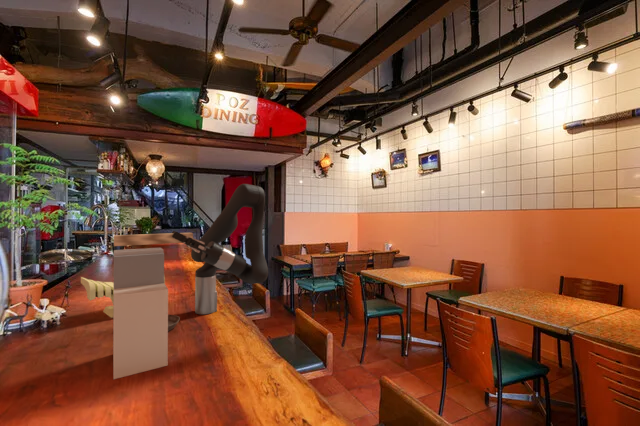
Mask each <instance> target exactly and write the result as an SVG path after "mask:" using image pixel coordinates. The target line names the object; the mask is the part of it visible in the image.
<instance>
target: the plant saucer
mask: <svg viewBox="0 0 640 426" xmlns="http://www.w3.org/2000/svg"><path fill="white" fill-rule="evenodd" d="M180 318H181V317H180V316H178V315H175V314H168V332H169V331H171V330H173V329H174V328H175V327H176V326H177V325H178V323H179V321H180V320H181V319H180Z"/></svg>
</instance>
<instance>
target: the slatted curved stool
mask: <svg viewBox="0 0 640 426" xmlns="http://www.w3.org/2000/svg"><path fill="white" fill-rule="evenodd" d="M165 276H166V275H164V284H165V285H166V277H165ZM80 284H81V285H82V286H83V287H84V289H85V290H86V291H85V292H86V298H87V300H88V301H92V300H93V301H94V300H95V299H96V298H98V299H99V298H104V297H105V298H109V299H110V300H111V302H112V305H109V306H105V308H103V311H102V312H103V313H104V314H106V315H107V316H108V317H109V318H110V319H113V309H114V281H101V280H100V281H99V280H93V279H90V278H89V279H88V278H86V277H83V276H80Z"/></svg>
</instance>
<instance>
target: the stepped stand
mask: <svg viewBox="0 0 640 426" xmlns="http://www.w3.org/2000/svg"><path fill="white" fill-rule="evenodd" d="M164 276H165V253H164V249H163V248H162V247H149V248H135V249H134V248H132V249H131V248H130V249H114V250H113V283H114V309H113V318H112V319H113V320H112V321H113V323H112V324H113V331H112V332H113V336H112V337H113V338H112V339H113V340H112V341H113V342H112V345H113V346H112V348H113V350H112V351H113V352H112V354H113V356H112V357H113V360H112V361H113V365H112V368H113V380H116V379H117V380H118V379H120V378H123V377H124V378H125V377H129V376H132V375H136V374H140V373H143V372H144V373H145V372H147V371H151V370H155V369H160V368H163V367H166V366H169V365H168V364H169V363H168V361H169V360H168V359H169V358H168V357H169V356H168V355H169V354H168V353H169V351H168V350H169V349H168V348H169V347H168V346H169V342H168V341H169V331H168V315H169V288H168V286H167V285H166V283H165V284H164Z"/></svg>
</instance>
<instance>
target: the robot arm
mask: <svg viewBox="0 0 640 426" xmlns="http://www.w3.org/2000/svg"><path fill="white" fill-rule="evenodd" d="M265 203H266V194H265V190H264V189H263V187H261V186H259V185H253V184H249V183H242V184H240V185H238V186H237V188H236V189H235V190H234V192H233V193H232V195H231V197H230V199H229V201H228V202H227V204H226V205H225V207H224V208H223V210H222V211H221V212H220V213H219V215H218V216H217V217H216V218H215V220H214V221H213V223H212V224H211V226H210V227H209V228H208V229H207V231H206V232H205V233H204V234H203V235H202V236H201V238H199V239H197V238H194V237H193V239H192V238H189V237H187V236H184V235H182V234H180V233H181V232H178V231H176V230H173V231H171V233H174V234H173V235H172V237H173V238H175V239H177V240H179V241H181V242H183V241H184V242H183V243H182V244H183V245H185V246H186V247H187V248H189V249H191V251H190V255H191V256H190V257H191V259H192V260H193V262H196V263H204V264H203V265H201V267H199V268H196V269H195V276H194V277H195V279H194V281H195V283H194V285H195V287H194V289H195V290H194V291H195V292H194V293H195V295H194V296H195V297H194V298H195V299H194V300H195V301H194V312H195V314H198V315H210V314H212V313H215V312H218V291H217V270H218V269H220V270H223V271H226V272H227V273H229V274H232V275H233V276H234V275H235V276H236V277H237V278H239V280H240V281H243V282H244V283H247V284H250V285H256V284H262V283H264V282H265V281H267V279H268V277H269V267H268V263H267V260H266V257H265V254H264V241H263V227H264V215H265ZM242 208H251V209H252V219H251V221H250V223H249V225H248V228H247V229H246V232H245V235H244V254H245V258H244V257H243V256H241V255H239V254H237V253H235V252H233V251H232V250H231V249H229V248H227V247H226V246H223V245H221V244H220V243H221V242H224V241H225V240H227V239H228V238H229V237H231V236H232V234H233V233H234V232H235V230H236V229H237V228H238V223H239V220H238V213H239V212H240V210H241V209H242ZM246 259H248V260H249V261H250V264H249V263H248V262H247V260H246Z"/></svg>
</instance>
